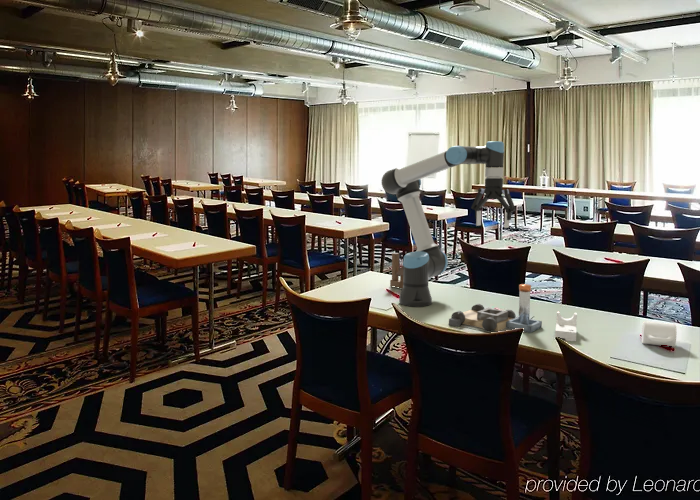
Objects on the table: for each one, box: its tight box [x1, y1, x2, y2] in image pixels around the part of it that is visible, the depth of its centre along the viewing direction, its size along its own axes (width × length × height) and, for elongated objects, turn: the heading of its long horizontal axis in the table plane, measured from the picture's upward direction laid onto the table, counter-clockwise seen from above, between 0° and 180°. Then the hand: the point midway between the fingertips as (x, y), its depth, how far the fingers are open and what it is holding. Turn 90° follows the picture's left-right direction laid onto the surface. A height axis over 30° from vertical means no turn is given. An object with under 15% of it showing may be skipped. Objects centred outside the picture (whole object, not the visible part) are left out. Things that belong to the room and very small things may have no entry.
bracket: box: [554, 310, 578, 342], centre depth 205 cm, size 13×7×8 cm, turn 158°
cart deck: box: [450, 303, 517, 332], centre depth 221 cm, size 20×18×6 cm
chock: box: [448, 317, 462, 327], centre depth 218 cm, size 4×2×2 cm, turn 47°
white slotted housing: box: [641, 320, 677, 348], centre depth 191 cm, size 12×10×8 cm
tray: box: [505, 316, 543, 334], centre depth 214 cm, size 10×10×2 cm
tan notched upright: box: [389, 252, 403, 289], centre depth 284 cm, size 4×11×18 cm, turn 41°
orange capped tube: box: [518, 283, 532, 325], centre depth 213 cm, size 4×4×16 cm
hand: (492, 226), depth 239 cm, fingers open, 13 cm apart
